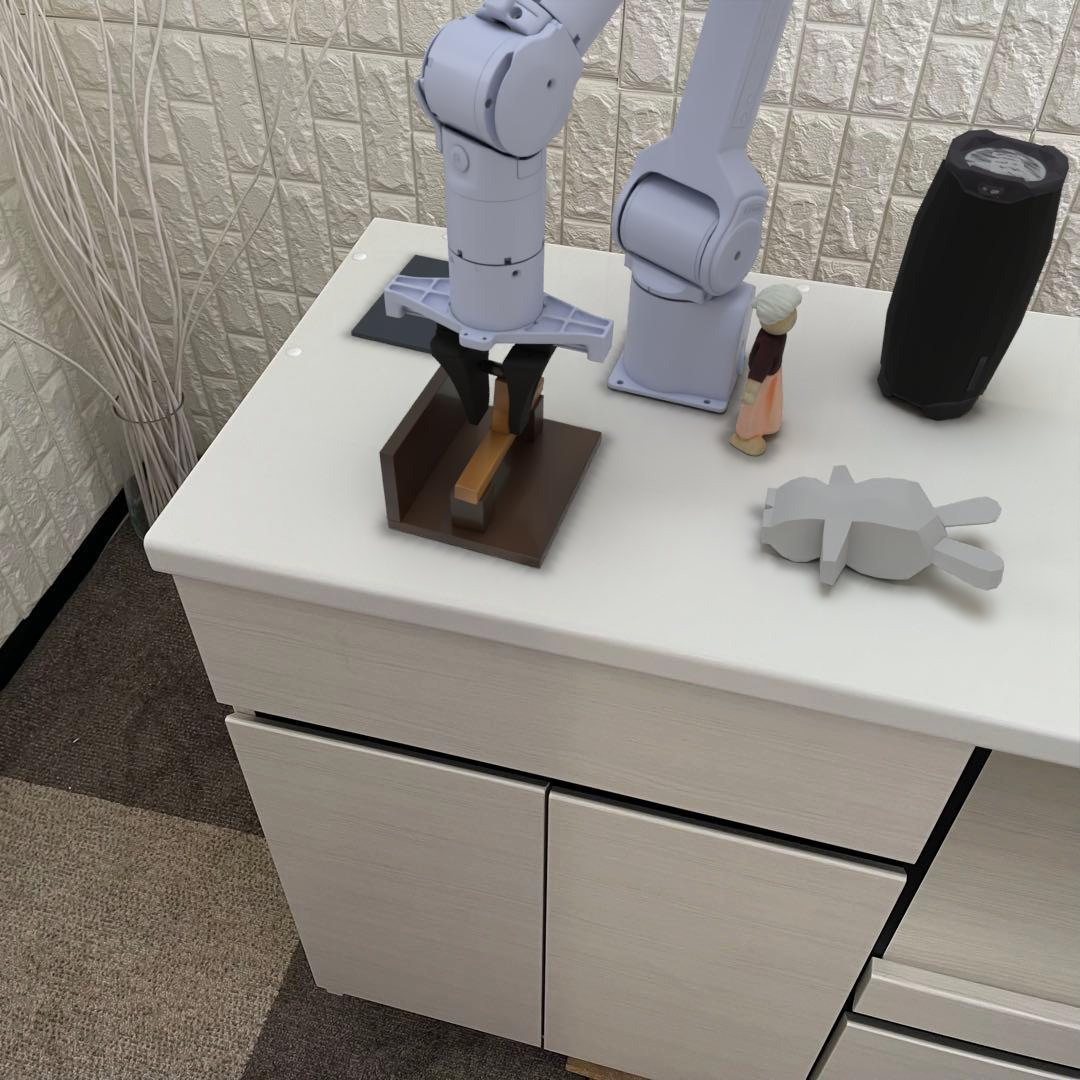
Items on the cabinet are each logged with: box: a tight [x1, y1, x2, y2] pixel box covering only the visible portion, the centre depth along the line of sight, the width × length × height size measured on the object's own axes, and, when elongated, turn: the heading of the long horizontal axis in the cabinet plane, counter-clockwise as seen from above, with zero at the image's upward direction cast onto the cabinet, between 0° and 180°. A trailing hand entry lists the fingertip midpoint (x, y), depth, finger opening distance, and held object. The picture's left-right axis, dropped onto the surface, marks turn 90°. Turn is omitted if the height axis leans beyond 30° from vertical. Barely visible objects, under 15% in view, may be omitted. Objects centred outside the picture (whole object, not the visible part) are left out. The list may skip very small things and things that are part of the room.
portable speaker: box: [876, 128, 1070, 421], centre depth 77 cm, size 9×9×20 cm
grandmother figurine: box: [729, 283, 803, 456], centre depth 76 cm, size 8×4×13 cm, turn 168°
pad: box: [350, 254, 449, 354], centre depth 91 cm, size 10×13×1 cm
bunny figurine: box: [759, 464, 1005, 591], centre depth 70 cm, size 10×5×15 cm
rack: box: [378, 364, 603, 569], centre depth 73 cm, size 11×14×7 cm
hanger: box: [454, 359, 545, 504], centre depth 71 cm, size 3×13×6 cm, turn 160°
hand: (498, 420), depth 72 cm, fingers closed on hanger, 2 cm apart
